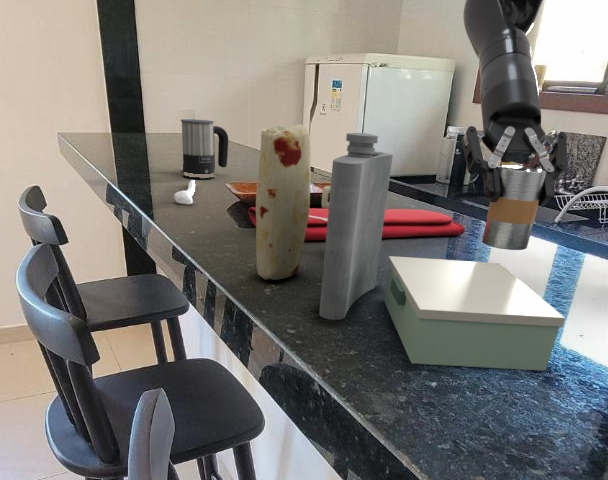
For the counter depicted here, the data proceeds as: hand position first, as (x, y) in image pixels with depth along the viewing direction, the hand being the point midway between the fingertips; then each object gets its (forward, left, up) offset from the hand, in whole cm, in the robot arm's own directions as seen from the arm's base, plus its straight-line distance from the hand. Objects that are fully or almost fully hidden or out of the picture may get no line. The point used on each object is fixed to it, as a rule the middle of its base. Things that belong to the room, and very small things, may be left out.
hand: (520, 200), depth 69 cm
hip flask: (+22, +5, -13) cm, 26 cm away
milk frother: (+57, -92, -13) cm, 109 cm away
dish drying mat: (+16, -35, -13) cm, 40 cm away
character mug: (+20, -15, -13) cm, 28 cm away
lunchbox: (+10, +14, -13) cm, 22 cm away
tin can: (0, -2, -6) cm, 7 cm away
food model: (+31, -3, -13) cm, 34 cm away
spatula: (+55, -61, -13) cm, 83 cm away
